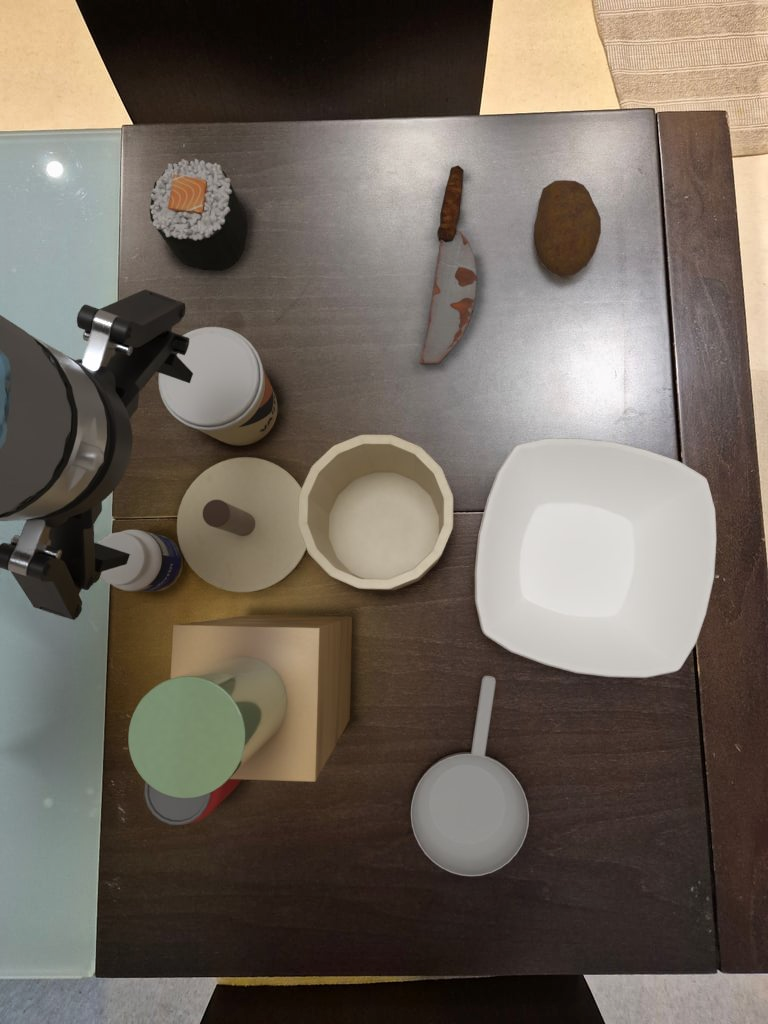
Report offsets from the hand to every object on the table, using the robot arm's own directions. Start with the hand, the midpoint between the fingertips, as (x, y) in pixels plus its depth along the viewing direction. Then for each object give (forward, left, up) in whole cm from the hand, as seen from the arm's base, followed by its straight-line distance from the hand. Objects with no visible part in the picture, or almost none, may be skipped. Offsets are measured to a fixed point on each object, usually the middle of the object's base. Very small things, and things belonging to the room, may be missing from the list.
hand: (141, 462), depth 52 cm
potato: (+34, +28, -23) cm, 50 cm away
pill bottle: (-7, -6, -23) cm, 25 cm away
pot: (+16, -2, -23) cm, 28 cm away
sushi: (-3, +29, -23) cm, 37 cm away
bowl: (+35, -5, -23) cm, 42 cm away
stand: (+8, -16, -23) cm, 29 cm away
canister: (+8, -16, +1) cm, 18 cm away
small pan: (+25, -25, -23) cm, 43 cm away
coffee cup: (+1, +10, -23) cm, 25 cm away
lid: (+2, -2, -22) cm, 23 cm away
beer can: (0, -25, -23) cm, 34 cm away
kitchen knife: (+23, +25, -23) cm, 41 cm away
